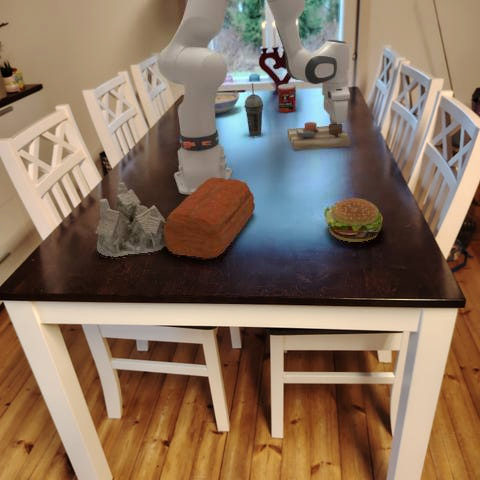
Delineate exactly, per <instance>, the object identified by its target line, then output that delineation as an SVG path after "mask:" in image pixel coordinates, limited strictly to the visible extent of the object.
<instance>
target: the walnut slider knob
mask: <svg viewBox="0 0 480 480" xmlns="http://www.w3.org/2000/svg"><path fill="white" fill-rule="evenodd" d="M328 126H329V133H330V134H338V133H342V129H343V124H342V123H337V124H330V123H329V124H328Z"/></svg>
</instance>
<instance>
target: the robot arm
mask: <svg viewBox="0 0 480 480" xmlns="http://www.w3.org/2000/svg"><path fill="white" fill-rule="evenodd" d="M229 1H230V0H187V1H186V5H185V9H184V14H183V17H182V19H181V22H180V23H179V26H178V28H177V30H176V32H175V33H174V36H173V37H172V39H171V41H170V42H169V44H168V45H167V46H165V48H163V49H162V50H161V51H160V53H159V55H158V57H157V58H158V59H157V68H158V70H159V74H161V76H162V77H164V78H165V79H166V80H168V81H169V82H171V83H173V84H176V85H182V86H183V88H184V93H183V95H184V96H183V100H182V102H181V103H180V104H179V106H178V107H177V115H178V121H179V128H180V129H179V132H180V133H179V142H180V148H179V149H178V150H177V156H178V157H177V158H178V166H177V169H178V171H177V172H175V173H174V175H173V176H174V177H173V178H174V179H175V182H176V186H177V189H178V192H179V193H180V194H183V195H190V194H191V193H192V192H194V191H195V190H196V189H197V188H198V187H199V186H200V185H201V184H203V183H204V182H205V181H206V180H207V179H210V178H212V177H215V178H224V179H225V180H227V179H231V176H232V173H233V169H232V168H231V167H227V162H226V154H225V148H224V147H223V146H222V145H221V144H220V141H219V139H220V138H219V136H220V135H219V133H218V132H219V131H218V129H217V125H216V123H217V122H216V114H215V99H216V94H217V91H219V88H220V87H221V86H222V85H223V83H224V82H225V80H226V78H227V76H228V75H227V74H228V65H227V61H226V59H225V57H224V56H223V55H222V54H221V53H219V52H217V51H215V50H214V49H211V48H209V47H208V46H209V44H211V41H212V40H213V39H214V38H216V37H217V36H218V35H219V34H220V32H221V31H222V29H223V24H224V21H225V18H226V13H227V10H228V6H229ZM266 3H267V4H268V7H269V9H270V11H271V14H272V17H273V21H274V25H275V27H276V30H277V34H278V37H279V39H280V42H281V45H282V48H283V52H284V55H285V67H286V69H285V70H286V73H287V74H288V75H289V77H291V79H294V80H296V81H302V82H305V83H308V84H311V85H319V84H321V85H322V87H321V88H322V89H321V94H322V96H323V105H322V106H323V109H324V111H325V112H326V113H327V115H328V117H329V122H330V123H329V124H340V123H341V124H342V123H345V122H346V120H347V116H348V106H349V101H348V100H350V98H351V93H350V90H349V76H348V72H349V69H350V48H349V47H350V46H349V45H348V42H346V41H344V40H339V39H328V40H325V42H324V44H323V45H322V46H321V47H319V48H317V49H316V50H314V51H308V50H307V49H306V48H305V47H304V46H303V44H302V41H301V37H300V34H299V31H298V27H297V20H298V19H299V18H300V16H302V14H303V12H304V10H305V7H306V0H266Z"/></svg>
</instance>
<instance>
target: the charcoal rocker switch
mask: <svg viewBox="0 0 480 480" xmlns="http://www.w3.org/2000/svg"><path fill="white" fill-rule="evenodd" d="M296 133H297V135H298V136H301V137H315V133H314V131H311V130H297V132H296Z"/></svg>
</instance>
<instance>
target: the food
mask: <svg viewBox="0 0 480 480" xmlns="http://www.w3.org/2000/svg"><path fill="white" fill-rule="evenodd" d="M323 214H324V217H325V223H326V224H327V226H328V227H329V229H328V230H329V233H330V234H331V236H332V237H333V236H334V237H333V238H335V237H336V238H335V239H337V238H338V239H337V240H339V239H340V240H339V241H341V240H343V241H342V242H345V241H348V242H347V243H350V242H362V243H364V242H363V241H367V242H369V241H368V240H370V241H371V239H372V240H373V238H374V239H375V238H376V237H377V236H378V235H379V233H380V232H381V231H382V226H383V225H382V223H383V216H382V213H381V212H380V210H379V209H378V207H377V206H376V205H375V204H374V203H372V202H371V201H370V200H369V201H368V200H366V199H363V198H357V197H354V198H352V197H351V198H346V199H342V200H340V201H338V202H336V203H334V204H333V205H332V206H331V207H330V208H329V206H327V208H325V209H324V213H323Z"/></svg>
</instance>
